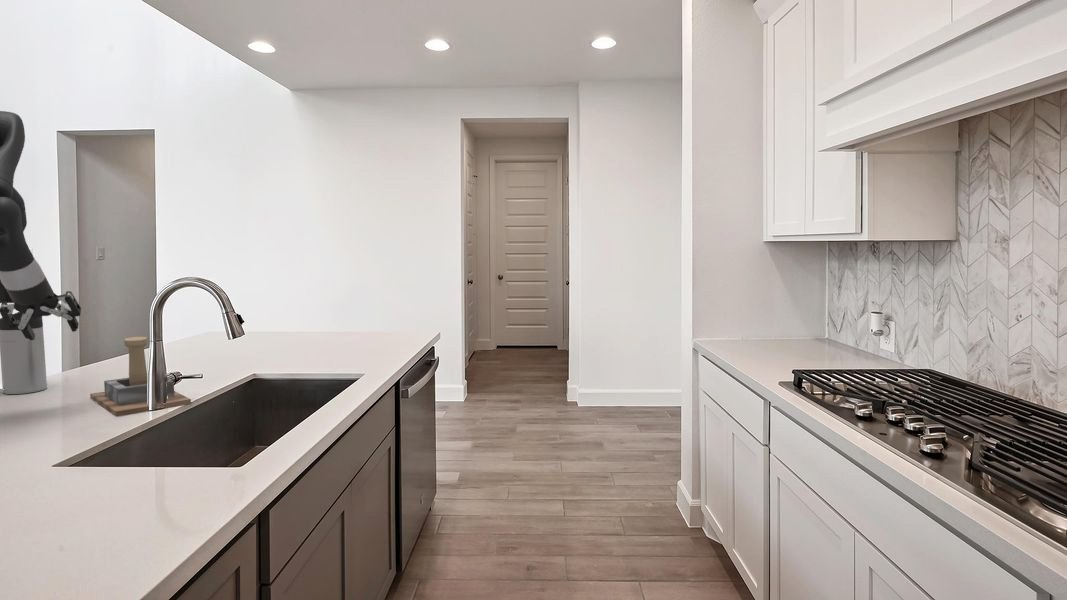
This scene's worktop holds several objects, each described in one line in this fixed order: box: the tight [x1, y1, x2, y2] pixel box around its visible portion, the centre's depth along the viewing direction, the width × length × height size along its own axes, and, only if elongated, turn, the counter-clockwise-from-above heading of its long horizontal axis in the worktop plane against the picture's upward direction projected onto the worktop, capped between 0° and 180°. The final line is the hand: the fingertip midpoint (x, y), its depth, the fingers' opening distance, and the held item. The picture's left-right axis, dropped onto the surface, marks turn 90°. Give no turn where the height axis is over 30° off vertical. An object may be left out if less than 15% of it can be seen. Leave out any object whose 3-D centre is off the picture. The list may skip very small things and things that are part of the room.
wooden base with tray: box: [89, 377, 192, 418], centre depth 155 cm, size 24×16×5 cm, turn 48°
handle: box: [123, 336, 148, 386], centre depth 154 cm, size 5×6×15 cm
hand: (54, 333), depth 146 cm, fingers open, 8 cm apart
